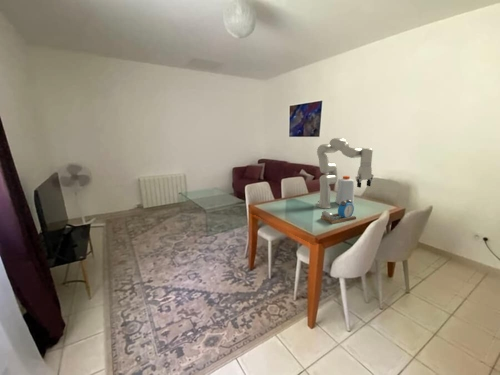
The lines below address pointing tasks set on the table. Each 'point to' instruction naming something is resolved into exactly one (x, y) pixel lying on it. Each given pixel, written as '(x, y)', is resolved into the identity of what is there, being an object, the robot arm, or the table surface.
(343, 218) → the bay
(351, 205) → the alarm clock
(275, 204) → the table surface
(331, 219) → the winch
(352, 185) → the plastic bottle
